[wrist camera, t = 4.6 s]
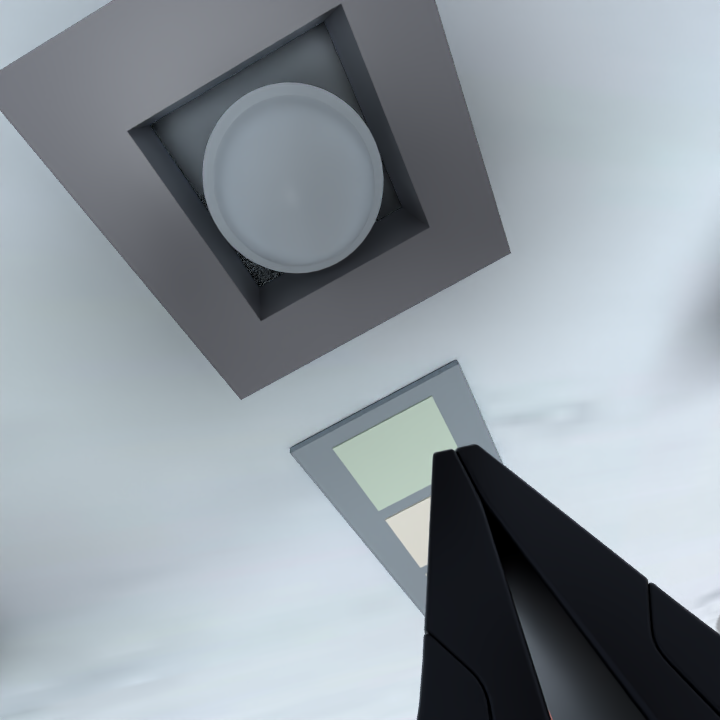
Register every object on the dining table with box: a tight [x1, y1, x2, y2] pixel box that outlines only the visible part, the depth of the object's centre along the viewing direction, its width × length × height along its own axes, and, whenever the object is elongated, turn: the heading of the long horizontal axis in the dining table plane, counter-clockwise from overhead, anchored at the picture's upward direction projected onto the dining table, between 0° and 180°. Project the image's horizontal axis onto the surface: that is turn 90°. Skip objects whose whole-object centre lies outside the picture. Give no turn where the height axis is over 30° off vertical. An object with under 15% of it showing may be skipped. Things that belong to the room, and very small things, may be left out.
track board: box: [290, 360, 503, 616], centre depth 30 cm, size 10×22×1 cm, turn 26°
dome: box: [202, 82, 383, 273], centre depth 15 cm, size 6×6×5 cm
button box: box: [0, 0, 511, 400], centre depth 16 cm, size 12×12×4 cm
